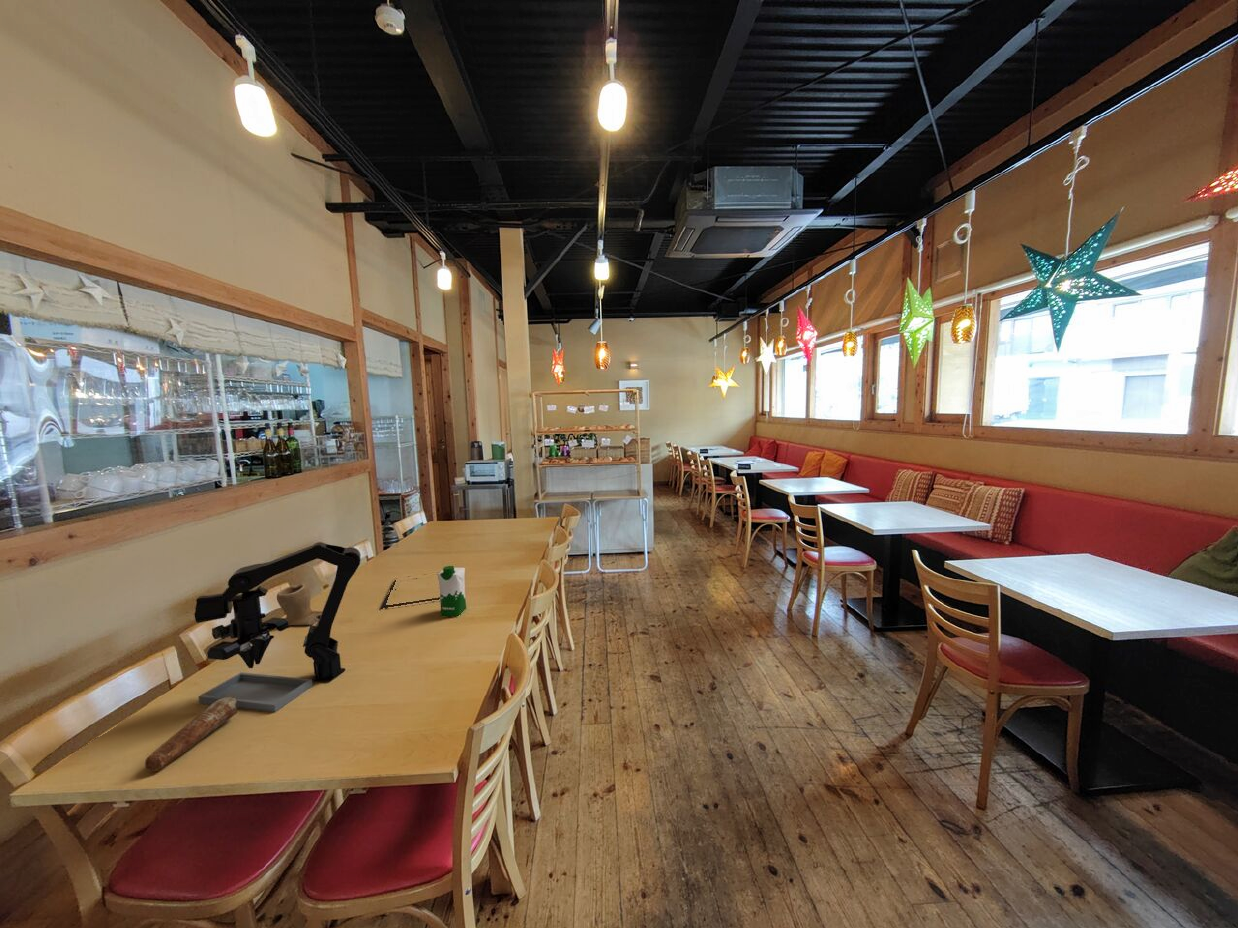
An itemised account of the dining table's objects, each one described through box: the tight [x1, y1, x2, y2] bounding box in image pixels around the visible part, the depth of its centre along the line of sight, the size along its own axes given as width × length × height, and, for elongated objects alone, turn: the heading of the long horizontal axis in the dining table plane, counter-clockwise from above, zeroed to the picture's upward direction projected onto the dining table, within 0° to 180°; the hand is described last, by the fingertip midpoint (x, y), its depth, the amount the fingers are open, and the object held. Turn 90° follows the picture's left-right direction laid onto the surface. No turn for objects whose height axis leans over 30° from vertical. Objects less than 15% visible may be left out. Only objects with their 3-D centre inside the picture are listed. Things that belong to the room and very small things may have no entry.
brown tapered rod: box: [144, 697, 239, 773], centre depth 108 cm, size 6×19×6 cm, turn 174°
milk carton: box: [437, 565, 467, 617], centre depth 175 cm, size 9×9×20 cm
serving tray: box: [198, 671, 313, 713], centre depth 127 cm, size 25×12×2 cm, turn 80°
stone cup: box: [276, 583, 323, 626], centre depth 171 cm, size 15×12×15 cm
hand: (254, 665), depth 126 cm, fingers closed
